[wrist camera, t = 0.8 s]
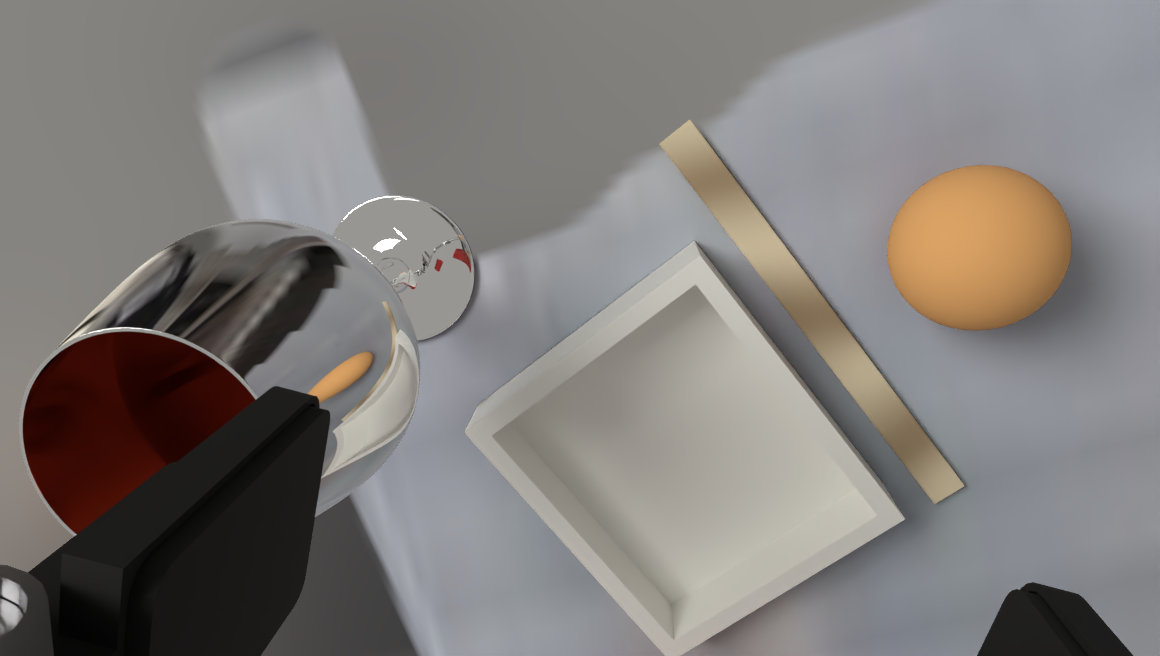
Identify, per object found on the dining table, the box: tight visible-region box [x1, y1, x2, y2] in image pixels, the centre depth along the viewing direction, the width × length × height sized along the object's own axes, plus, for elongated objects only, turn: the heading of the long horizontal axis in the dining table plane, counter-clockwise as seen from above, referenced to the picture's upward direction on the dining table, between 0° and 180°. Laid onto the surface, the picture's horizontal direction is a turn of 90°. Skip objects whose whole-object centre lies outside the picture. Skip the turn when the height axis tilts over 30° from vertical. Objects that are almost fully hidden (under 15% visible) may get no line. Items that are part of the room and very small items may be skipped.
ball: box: [887, 165, 1072, 330], centre depth 29 cm, size 6×6×6 cm
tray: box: [464, 241, 905, 656], centre depth 33 cm, size 14×12×3 cm
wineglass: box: [19, 195, 475, 536], centre depth 25 cm, size 8×8×18 cm
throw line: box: [660, 120, 964, 504], centre depth 33 cm, size 20×2×1 cm, turn 39°
